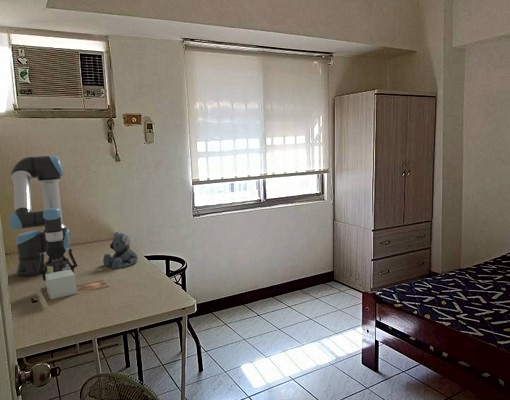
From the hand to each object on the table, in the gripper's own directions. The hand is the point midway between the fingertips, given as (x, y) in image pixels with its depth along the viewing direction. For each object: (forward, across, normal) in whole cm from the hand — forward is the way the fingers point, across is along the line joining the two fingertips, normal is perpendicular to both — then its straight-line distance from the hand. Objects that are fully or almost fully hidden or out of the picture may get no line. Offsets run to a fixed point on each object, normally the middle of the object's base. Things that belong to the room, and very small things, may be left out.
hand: (59, 284), depth 200 cm
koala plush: (+3, +37, +21) cm, 43 cm away
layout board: (+2, +6, -12) cm, 14 cm away
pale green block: (+1, -1, -12) cm, 13 cm away
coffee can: (+3, 0, 0) cm, 3 cm away
